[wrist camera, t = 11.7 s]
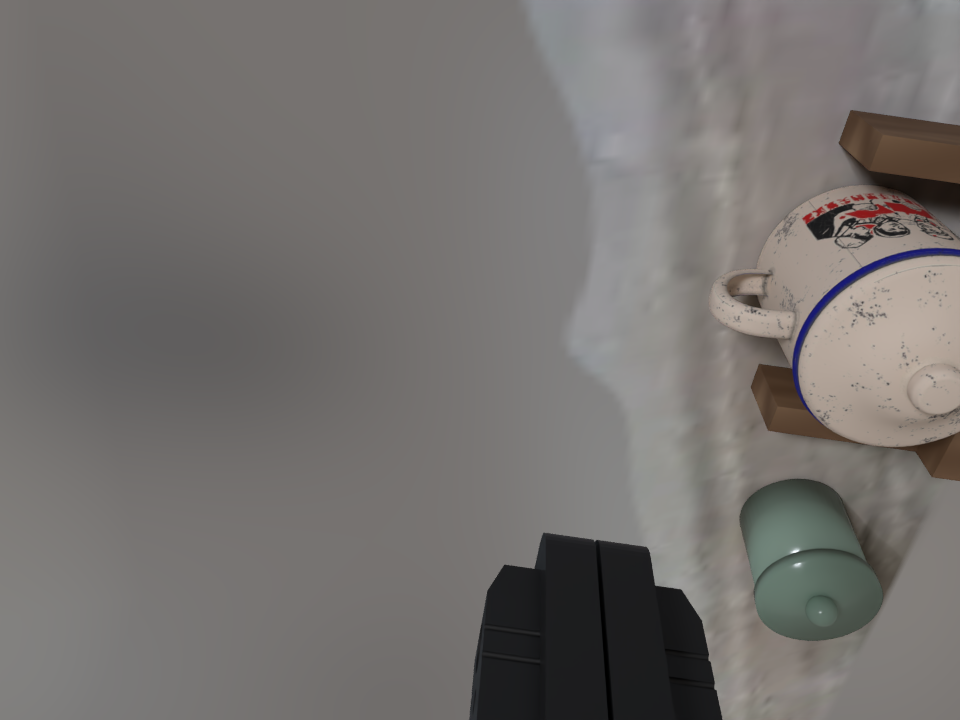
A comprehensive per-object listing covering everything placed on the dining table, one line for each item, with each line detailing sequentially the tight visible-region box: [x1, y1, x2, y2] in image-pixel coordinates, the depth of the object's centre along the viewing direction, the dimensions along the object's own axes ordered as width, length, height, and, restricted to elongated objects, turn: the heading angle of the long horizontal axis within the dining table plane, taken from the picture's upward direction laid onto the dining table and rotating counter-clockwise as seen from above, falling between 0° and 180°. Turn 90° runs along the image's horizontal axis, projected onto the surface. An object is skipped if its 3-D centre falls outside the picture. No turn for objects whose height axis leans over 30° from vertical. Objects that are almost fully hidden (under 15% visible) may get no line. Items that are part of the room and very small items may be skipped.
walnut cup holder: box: [751, 110, 960, 481], centre depth 37 cm, size 15×9×6 cm, turn 173°
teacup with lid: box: [709, 185, 960, 447], centre depth 35 cm, size 12×9×12 cm
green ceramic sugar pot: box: [740, 479, 883, 641], centre depth 45 cm, size 6×6×8 cm
